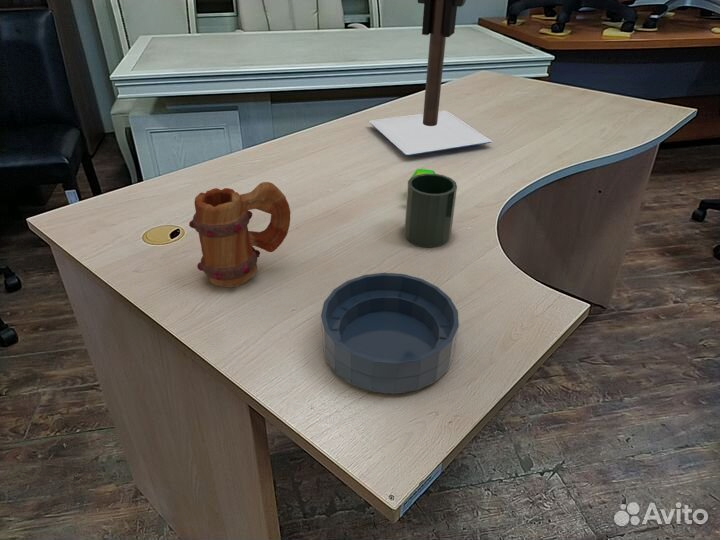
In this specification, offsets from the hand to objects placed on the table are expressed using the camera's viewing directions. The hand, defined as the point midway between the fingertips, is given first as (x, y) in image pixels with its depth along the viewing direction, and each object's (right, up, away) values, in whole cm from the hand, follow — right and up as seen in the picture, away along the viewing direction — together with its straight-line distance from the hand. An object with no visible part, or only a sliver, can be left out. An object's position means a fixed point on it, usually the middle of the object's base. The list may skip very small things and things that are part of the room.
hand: (438, 33), depth 66 cm
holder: (+2, -24, +27) cm, 36 cm away
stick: (0, -9, +7) cm, 12 cm away
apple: (+2, -16, +37) cm, 41 cm away
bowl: (-6, -40, +4) cm, 41 cm away
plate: (+7, +3, +63) cm, 64 cm away
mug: (-27, -31, +17) cm, 44 cm away
